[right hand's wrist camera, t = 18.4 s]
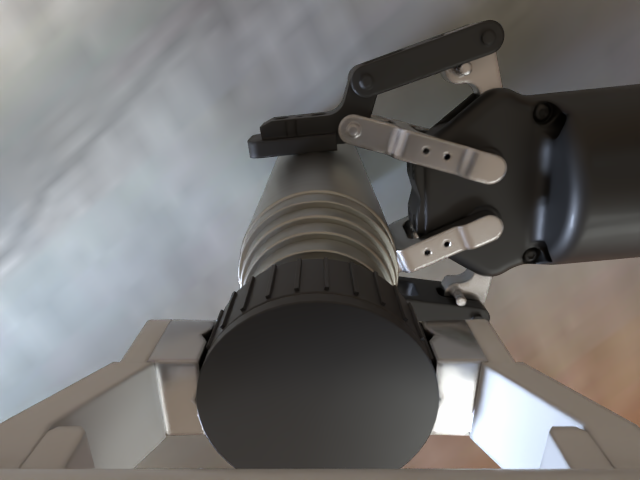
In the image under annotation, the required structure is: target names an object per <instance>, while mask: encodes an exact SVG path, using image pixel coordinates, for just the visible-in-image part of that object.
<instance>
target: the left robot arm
mask: <svg viewBox="0 0 640 480" xmlns="http://www.w3.org/2000/svg"><path fill="white" fill-rule="evenodd" d="M503 40H504V30H503V28H502V26H501V25H500V24H499V23H498V22H496V21H493V20H487V21H483V22H478V23H474V24H469V25H465V26H463V27H460V28H457V29H454V30H452V31H449V32H446V33H444V34H441V35H438V36H435V37H433V38H430V39H427V40H424V41H422V42H419V43H416V44H413V45H411V46H408V47H405V48H402V49H400V50H397V51H394V52H392V53H389V54H386V55H383V56H381V57H378V58H375V59H372V60H370V61H367V62H364V63H361V64H359V65H356V66H354V67H353V68H352V69H351V70H350V72H349V74H348V81H347V85H346V89H345V92H344V96H343V99H342V102H341V103H340V105H339V106H338V107H337V108H336V109H334V110H332V111H329V112H321V113H311V114H301V115H291V116H281V117H274V118H272V119H270V120H268V121H266V122H265V123H263V124H262V126H261V127H260V131H261V134H256V135H253V136H251V138H250V139H249V140H248V146H249V153H250V158H266V157H276V156H286V155H296V154H306V153H313V152H327V151H337V144H345V143H347V144H349V145H353V146H357V147H361V148H364V149H368V150H372V151H376V152H379V153H383V154H387V155H389V156H391V157H393V158H396V159H399V160H402V161H406V162H407V172H408V176H409V179H410V182H411V185H412V190H411V194H410V198H409V202H408V216H406V217H404V218H402V219H400V220H398V221H395V222H393V223H391V224H390V225H388V227H389V229H390V232H391V234H392V237H393V240H394V243H395V247H396V252H397V261H398V269H399V272H407V273H410V272H415V271H417V270H419V269H422V268H424V267H426V266H429V265H431V264H433V263H436V262H438V261H441V260H443V259H445V258H449V259H451V260H453V261H455V262H457V263H458V264H460V265H462V266H464V267H465V268H467V269H466V271H465V272H463V273H461V274H459V275H447V276H445V277H444V279H443V280H442V282H440V281H432V280H424V279H415V278H407V277H398V285H397V287H398V290H399V293H400V294H401V295H402V296H403V297H404V298H405V300H406V301H407V303H409V302H411V304H412V306H413V309H414V312H415V314H416V317H417V320H418V321H439V320H472V319H486V320H488V321H489V320H490V315H489V313H488V311H487V310H486V308H485V306H484V303H485V300H486V297H487V294H488V290H489V287H490V284H491V281H492V277H493V276H497V275H500V274H502V273H504V272H506V271H507V270H509V269H511V268H513V267H516V266H518V265H522V264H547V265H554V264H566V263H578V262H589V261H600V260H612V259H622V258H634V257H640V84H635V85H625V86H616V87H606V88H596V89H586V90H576V91H567V92H557V93H547V94H537V95H521V94H518V93H516V92H514V91H512V90H510V89H507V88H503V87H502V82H501V76H500V71H499V65H498V60H497V55H496V51H497V50H498V49H499V48H500V47H501V45H502V43H503ZM437 73H441V76H442V78H443V79H444V80H445V81H447V82H449V83H454V84H464V83H467V84H468V85H469V86H470V87H471V88H472V90H473V94H471V95H470V96H469V97H468V98H467V99H465V100H464V101H463V102H462V103H461V104H459V105H458V106H457V107H456V108H455V109H453V110H452V111H451V112H450V113H449V114H447V115H446V116H445V117H444V118H443V119H441V120H440V121H439V122H438V123H437V124H435V125H434V126H433V127H432V128H431V129H428V128H424V127H421V126H417V125H414V124H410V123H406V122H403V121H399V120H395V119H389V118H385V117H381V116H378V115H374V114H372V111H373V107H374V104H375V100H376V97H377V95H378V94H381V93H383V92H386V91H389V90H392V89H395V88H398V87H400V86H403V85H406V84H409V83H412V82H414V81H417V80H420V79H423V78H426V77H428V76H431V75H434V74H437Z"/></svg>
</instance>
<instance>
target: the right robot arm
mask: <svg viewBox="0 0 640 480" xmlns="http://www.w3.org/2000/svg"><path fill="white" fill-rule="evenodd" d="M216 321H217V320H172V319H152V320H149V321H147V322H146V324H145V325H144V327H143V328H142V330H141V331H140V333H139V334H138V336H137V337H136V339H135V340H134V342H133V343H132V345H131V346H130V348H129V349H128V351H127V352H126V354H125V355H124V357H123V358H122V360H121V361H120V362H113V363H111V364H109V365H107V366H105V367H103V368H101V369H100V370H98V371H96V372H94V373H92V374H90V375H89V376H87V377H85V378H83V379H81V380H79V381H78V382H76V383H74V384H72V385H70V386H68V387H66V388H65V389H63V390H61V391H59V392H57V393H55V394H54V395H52V396H50V397H48V398H46V399H44V400H43V401H41V402H39V403H37V404H35V405H33V406H31V407H30V408H28V409H26V410H24V411H22V412H20V413H19V414H17V415H15V416H13V417H11V418H9V419H8V420H6V421H4V422H2V423H0V480H640V428H639V427H638V426H637V425H636V424H634V423H632V422H630V421H628V420H627V419H625V418H623V417H621V416H619V415H618V414H616V413H614V412H612V411H610V410H608V409H607V408H605V407H603V406H601V405H599V404H598V403H596V402H594V401H592V400H590V399H588V398H587V397H585V396H583V395H581V394H579V393H578V392H576V391H574V390H572V389H570V388H568V387H567V386H565V385H563V384H561V383H559V382H558V381H556V380H554V379H552V378H550V377H548V376H547V375H545V374H543V373H541V372H539V371H538V370H536V369H534V368H532V367H530V366H528V365H527V364H525V363H523V362H515V361H514V359H513V358H512V356H511V355H510V353H509V351H508V350H507V348H506V347H505V345H504V344H503V342H502V341H501V339H500V338H499V336H498V335H497V333H496V332H495V330H494V329H493V327H492V326H491V324H490V323H489V321H488V320H486V319H472V320H439V321H418V322H420V323H421V326H422V328H423V331H424V334H425V336H426V339H427V342H428V344H429V347H430V350H431V352H432V355H433V357H434V362H432V364H433V367H434V370H435V373H436V376H437V379H438V386H439V393H440V394H439V409H438V414H437V419H436V422H435V424H434V427H433V429H432V432H431V434H435V435H470V438H471V439H472V440H473V441H474V442H475V443H476V444H477V445H478V446H479V447H480V448H481V449H482V450H483V451H484V452H486V453H487V454H488V455H489V456H490V457H491V458H492V459H493V460H494V461H495V462H496V463H497V464H498V465H499V466H500V467H501V468H502V469H134V468H135V467H136V466H137V465H138V464H139V463H140V462H141V461H142V460H143V459H144V458H145V457H146V456H147V455H148V454H149V453H150V452H151V451H153V450H154V449H155V448H156V447H157V446H158V445H159V444H160V443H161V442H162V441H163V440H164V439H165V438H166V435H200V434H205V433H204V430H203V428H202V425H201V423H200V420H199V416H198V411H197V405H196V389H197V381H198V378H199V374H200V371H201V368H202V365H203V362H204V360H205V357H206V355H207V352H208V349H207V348H206V346H207V344H208V341H209V339H210V336H211V334H212V331H213V329H214V326H215V323H216Z"/></svg>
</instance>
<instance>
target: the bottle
mask: <svg viewBox="0 0 640 480" xmlns="http://www.w3.org/2000/svg"><path fill="white" fill-rule="evenodd" d="M324 257H328V259H333V260H339V261H345V262H348V263H350V261H352V262H354V264H355V265H358V266H361V267H363V268H365V269H368V270H370V271H372V272H374V271H376V272H378V275H379V276H380V277H382V278H384V279H385V280H386V281H388V282H389V283H390V284H391V285H392V286H394V285H396V286H397V285H398V277H399V269H398V261H397V252H396V247H395V243H394V240H393V237H392V234H391V232H390V229H389V227H388V225H387V222H386V220H385V217H384V215H383V212H382V210H381V207H380V205H379V203H378V200H377V198H376V195H375V193H374V190H373V188H372V185H371V183H370V180H369V178H368V176H367V173H366V171H365V168H364V166H363V163H362V161H361V158H360V156H359V154H358V151H357V149H356V147H355V146H353V145H349V144H347V143H345V144H337V151H327V152H313V153H306V154H296V155H286V156H278V158H277V161H276V163H275V165H274V168H273V170H272V172H271V175H270V177H269V180H268V182H267V184H266V187H265V189H264V192H263V194H262V196H261V199H260V201H259V203H258V206H257V208H256V211H255V213H254V215H253V218H252V220H251V223H250V225H249V227H248V230H247V232H246V234H245V237H244V239H243V243H242V247H241V252H240V259H239V266H238V280H239V285H240V288H241V287H242V286H244V285H245V284H246V283H247V282H248V281H249V279H250V277H252V276H254V277H256V276H257V275H259V274H260V273H262V272H264V271H266V270H268V269H270V268H272V265H275V264H276V266H278V265H281V264H284V263H287V262H292V261H297V259H298V258H301V259H317V258H319V259H324Z"/></svg>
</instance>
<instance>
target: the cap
mask: <svg viewBox="0 0 640 480" xmlns="http://www.w3.org/2000/svg"><path fill="white" fill-rule="evenodd" d="M206 348H207V349H208V352H207V355H206V357H205V360H204V362H203V365H202V368H201V371H200V374H199V378H198V381H197V389H196V405H197V411H198V416H199V420H200V423H201V425H202V428H203V430H204V433H205V434H206V436H207V438H208V440H209V441H210V443H211V444H212V446H213V447H214V448H215V449H216V451H217V452H218V453H219V454H220V455H221V456H222V457H223V458H224V459H225V460H226V461H227V462H228V463H229V464H230V465H232V466H233V467H234V468H236V469H400V468H402V467H403V466H404V465H405V464H407V463H408V462H409V461H410V460H411V459H412V458H413V457H414V456H415V455H416V454H417V453H418V452H419V450H420V449H421V448H422V446H423V445H424V444H425V443H426V441H427V439H428V437H429V435H430V434H431V432H432V429H433V427H434V424H435V422H436V419H437V414H438V409H439V394H440V393H439V386H438V379H437V376H436V373H435V370H434V367H433V364H432V362H434V357H433V355H432V352H431V350H430V347H429V344H428V342H427V339H426V336H425V334H424V331H423V328H422V326H421V323H420V322H418V320H417V317H416V314H415V312H414V309H413V306H412V304H411V302H409V303H407V301H406V300H405V298H404V297H403V296H402V295H401V294H400V293H399V290H398V287H397V286H396V285H394V286H392V285H391V284H390V283H389V282H388V281H386V280H385V279H384V278H382V277H380V276H379V275H378V272H376V271H374V272H372V271H370V270H368V269H365V268H363V267H361V266H358V265H355V264H354V262H352V261H350V263H348V262H345V261H339V260H333V259H328V257H324V259H319V258H317V259H301V258H298V259H297V261H292V262H287V263H284V264H281V265H278V266H276V264H275V265H272V268H270V269H268V270H266V271H264V272H262V273H260V274H259V275H257V276H256V277H254V276H252V277H250V279H249V281H248V282H247V283H246V284H245V285H244V286H242V287H241V288H240V289H239V290H238V291H237V293H236V292H235V291H234V292H233V293H232V296H231V298H230V301H229V303H228V304H227V306H226V307H225V309H224V310H221V311H220V313H219V316H218V318H217V321H216V323H215V326H214V329H213V331H212V334H211V336H210V339H209V341H208V344H207V346H206Z"/></svg>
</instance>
